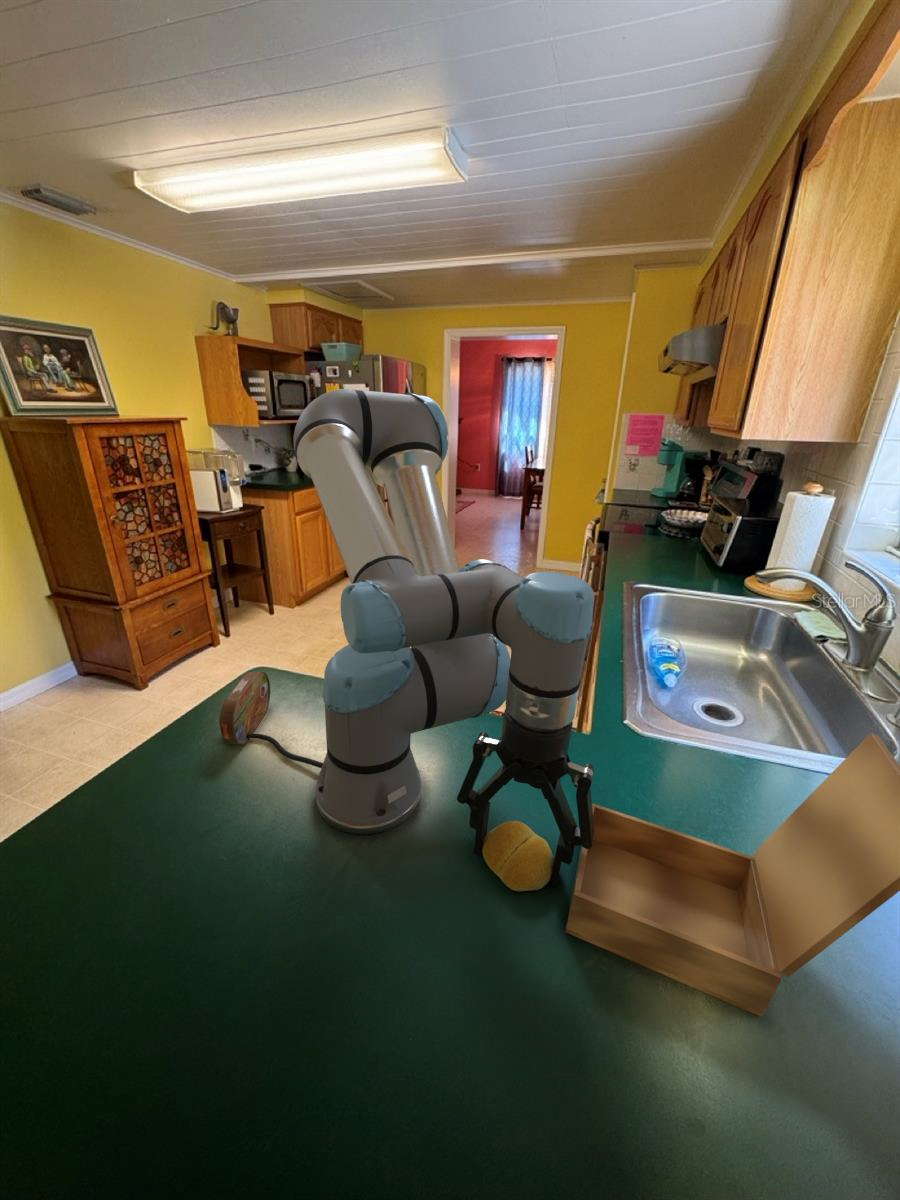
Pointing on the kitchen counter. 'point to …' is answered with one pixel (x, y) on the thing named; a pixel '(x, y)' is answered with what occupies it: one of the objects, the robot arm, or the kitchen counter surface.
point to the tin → (244, 707)
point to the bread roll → (518, 856)
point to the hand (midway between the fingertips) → (516, 860)
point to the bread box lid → (833, 856)
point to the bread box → (676, 908)
